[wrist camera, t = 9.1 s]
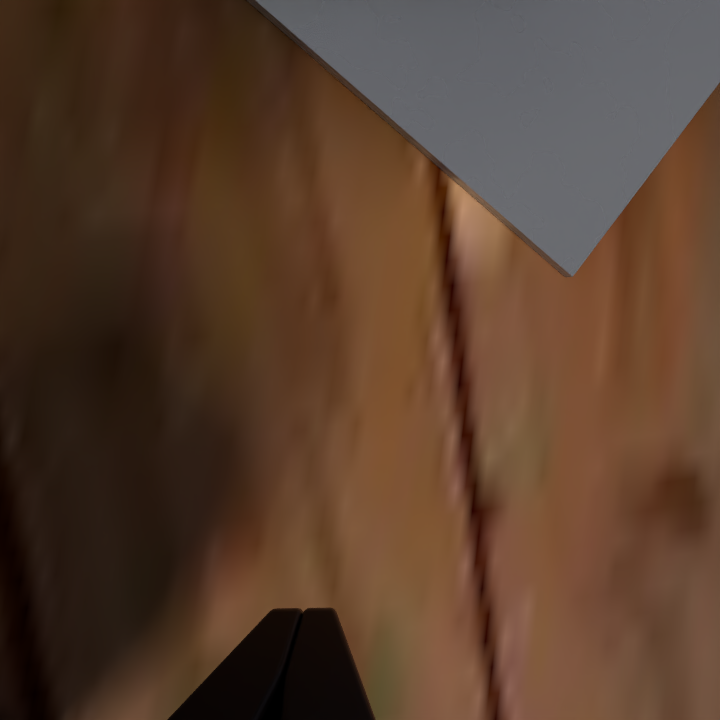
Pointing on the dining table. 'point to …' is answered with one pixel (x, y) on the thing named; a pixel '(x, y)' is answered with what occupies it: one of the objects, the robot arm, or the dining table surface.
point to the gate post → (525, 95)
